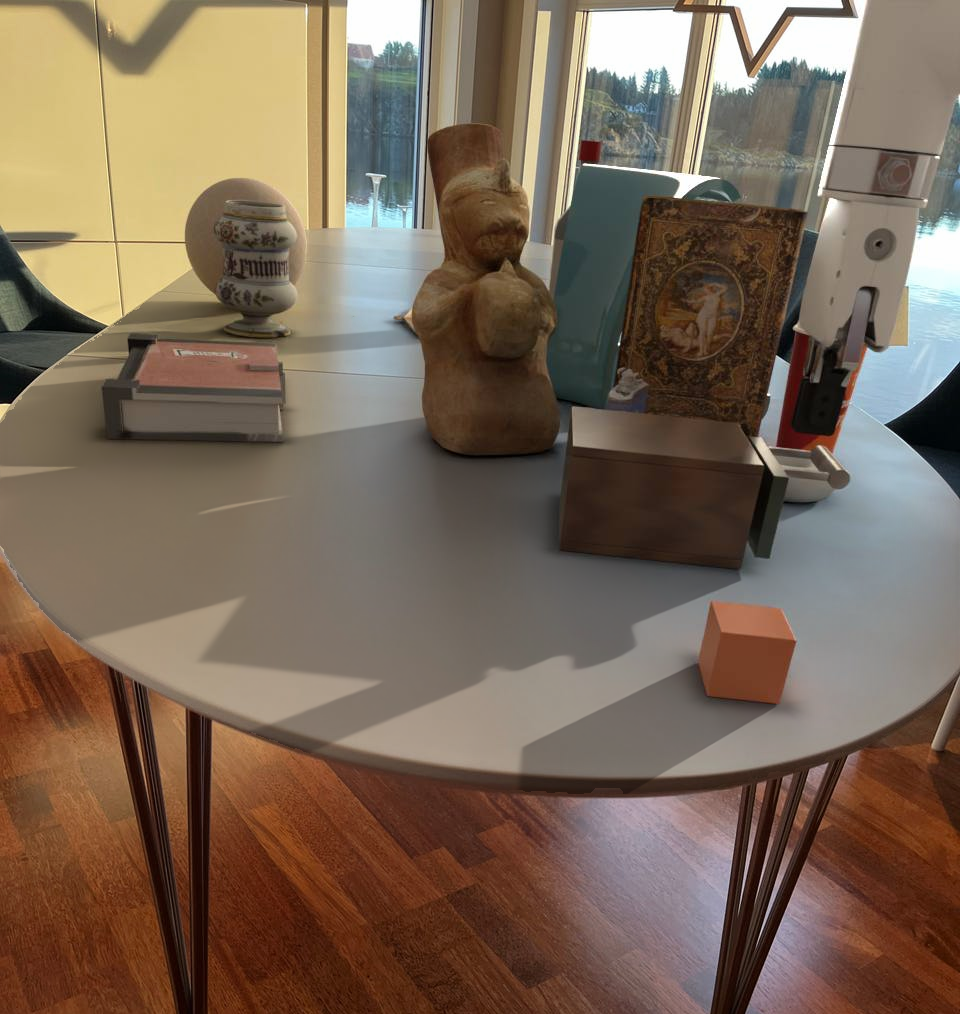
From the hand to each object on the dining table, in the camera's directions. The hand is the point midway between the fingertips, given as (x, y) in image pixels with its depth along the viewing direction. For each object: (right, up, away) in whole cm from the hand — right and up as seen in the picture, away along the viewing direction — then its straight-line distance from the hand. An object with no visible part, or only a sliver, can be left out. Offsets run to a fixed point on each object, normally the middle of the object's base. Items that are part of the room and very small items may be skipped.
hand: (811, 431), depth 76 cm
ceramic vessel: (-27, +6, +29) cm, 40 cm away
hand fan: (-34, +38, +86) cm, 100 cm away
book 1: (-57, +9, +29) cm, 65 cm away
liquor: (-10, +42, +99) cm, 108 cm away
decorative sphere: (-67, +41, +88) cm, 118 cm away
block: (-11, -20, -17) cm, 28 cm away
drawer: (-7, -7, +4) cm, 11 cm away
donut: (+4, -2, +19) cm, 19 cm away
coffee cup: (+10, +3, +30) cm, 32 cm away
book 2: (-4, +5, +30) cm, 30 cm away
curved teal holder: (-4, +13, +46) cm, 48 cm away
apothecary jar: (-61, +30, +68) cm, 96 cm away
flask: (-14, -1, +18) cm, 22 cm away
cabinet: (-13, -8, +5) cm, 16 cm away
